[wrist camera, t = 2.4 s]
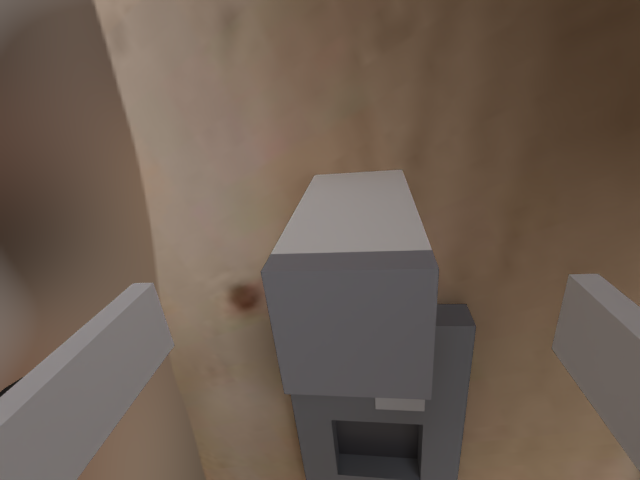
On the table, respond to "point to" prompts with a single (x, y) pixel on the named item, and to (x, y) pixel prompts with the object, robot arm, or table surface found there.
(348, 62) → the table surface
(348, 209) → the plug
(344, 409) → the socket block
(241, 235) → the table surface
